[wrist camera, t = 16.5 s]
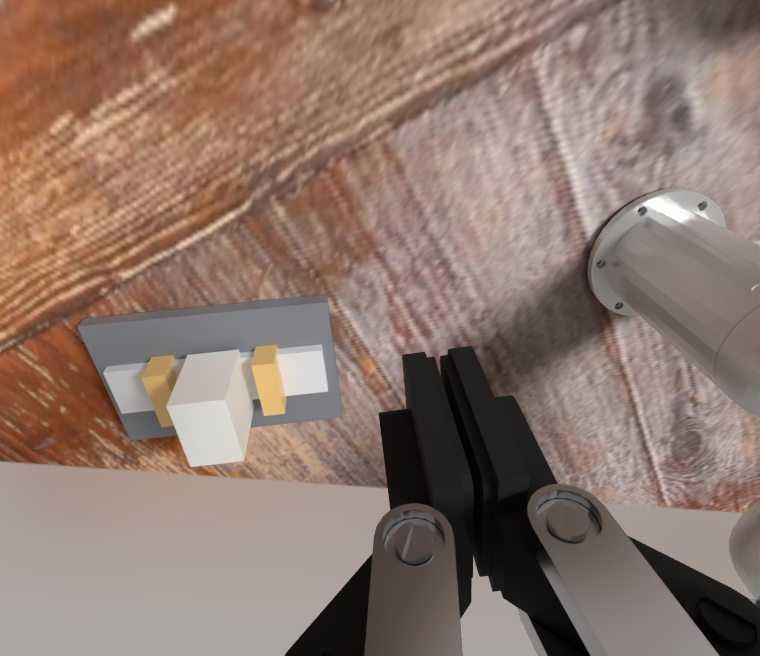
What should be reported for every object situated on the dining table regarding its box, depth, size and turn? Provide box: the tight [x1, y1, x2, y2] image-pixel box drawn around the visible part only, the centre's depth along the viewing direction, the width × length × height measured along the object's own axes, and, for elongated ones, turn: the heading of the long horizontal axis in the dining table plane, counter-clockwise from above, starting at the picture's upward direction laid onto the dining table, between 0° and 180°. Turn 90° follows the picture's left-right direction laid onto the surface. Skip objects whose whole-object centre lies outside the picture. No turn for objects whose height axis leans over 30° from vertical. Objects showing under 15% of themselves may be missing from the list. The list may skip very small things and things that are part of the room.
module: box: [166, 349, 254, 467], centre depth 43 cm, size 5×7×7 cm, turn 3°
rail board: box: [77, 294, 342, 441], centre depth 46 cm, size 22×14×4 cm, turn 93°
